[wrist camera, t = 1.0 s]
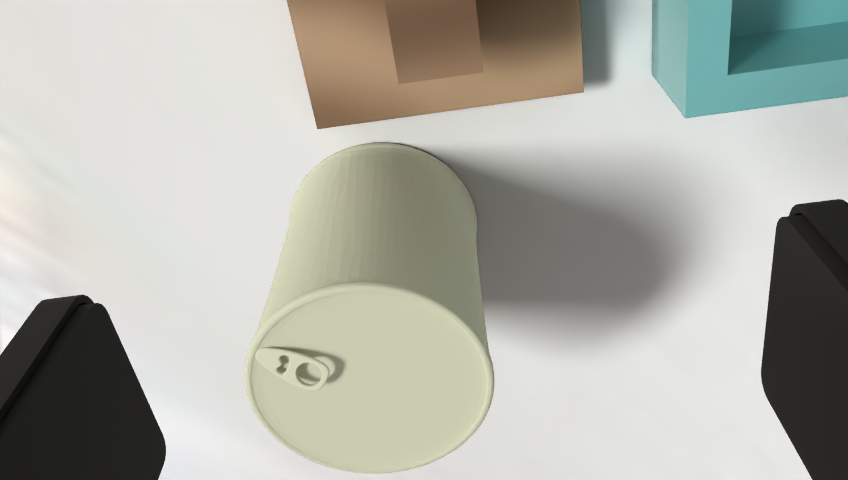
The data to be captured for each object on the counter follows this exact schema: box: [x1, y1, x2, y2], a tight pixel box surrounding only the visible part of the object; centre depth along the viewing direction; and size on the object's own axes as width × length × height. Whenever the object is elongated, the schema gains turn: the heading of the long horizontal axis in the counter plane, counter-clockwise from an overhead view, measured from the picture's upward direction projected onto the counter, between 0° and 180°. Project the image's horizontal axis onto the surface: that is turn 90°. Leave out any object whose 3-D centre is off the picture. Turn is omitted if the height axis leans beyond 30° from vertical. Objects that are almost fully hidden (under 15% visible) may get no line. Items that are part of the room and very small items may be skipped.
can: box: [244, 143, 494, 473], centre depth 32 cm, size 9×9×12 cm
